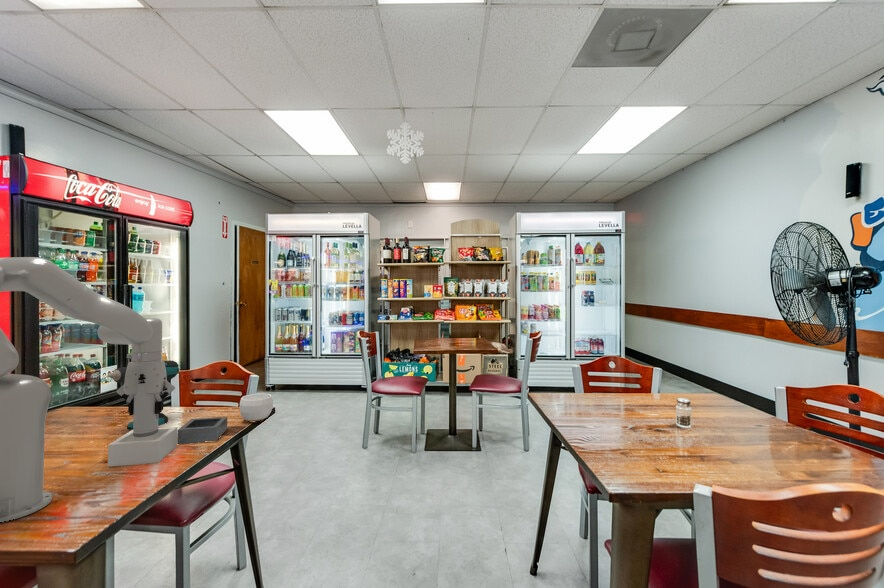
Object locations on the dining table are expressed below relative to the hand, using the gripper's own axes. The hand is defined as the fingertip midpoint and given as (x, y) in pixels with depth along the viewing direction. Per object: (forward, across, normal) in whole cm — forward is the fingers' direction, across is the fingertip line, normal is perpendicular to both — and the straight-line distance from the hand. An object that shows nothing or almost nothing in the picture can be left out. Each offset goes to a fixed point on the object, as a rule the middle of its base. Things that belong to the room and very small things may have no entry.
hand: (146, 413), depth 119 cm
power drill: (+14, -14, +30) cm, 36 cm away
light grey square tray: (+14, 0, 0) cm, 14 cm away
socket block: (+14, +12, +14) cm, 23 cm away
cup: (+14, +26, +30) cm, 42 cm away
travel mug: (+7, 0, 0) cm, 7 cm away
